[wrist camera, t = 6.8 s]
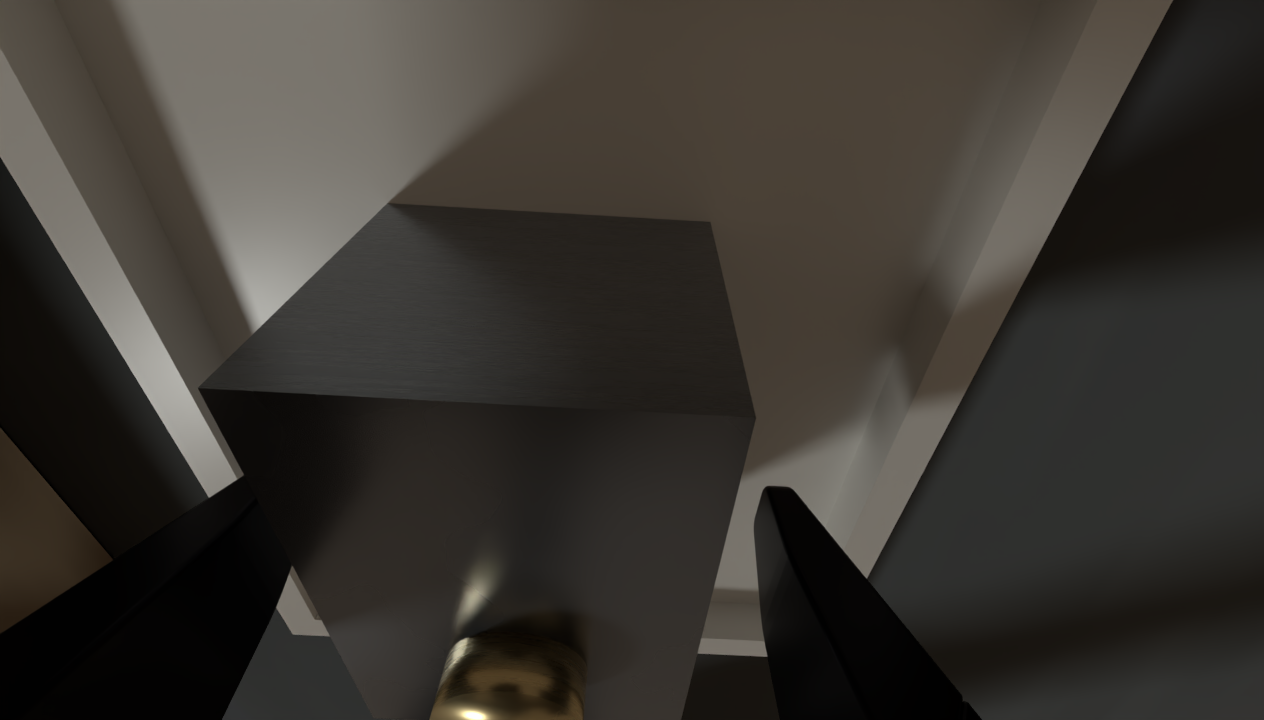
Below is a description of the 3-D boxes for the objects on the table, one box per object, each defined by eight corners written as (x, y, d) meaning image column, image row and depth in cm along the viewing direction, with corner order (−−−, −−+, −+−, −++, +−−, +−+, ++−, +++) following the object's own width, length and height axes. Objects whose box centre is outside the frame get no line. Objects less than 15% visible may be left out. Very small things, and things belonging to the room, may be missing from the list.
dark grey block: (669, 510, 13) (680, 790, 9) (451, 499, 13) (352, 776, 8) (710, 221, 9) (773, 487, 4) (387, 203, 9) (130, 454, 4)
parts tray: (810, 605, 16) (824, 659, 15) (319, 582, 16) (293, 634, 15) (1143, -141, 6) (1257, -162, 5) (-83, -222, 6) (-257, -262, 5)
